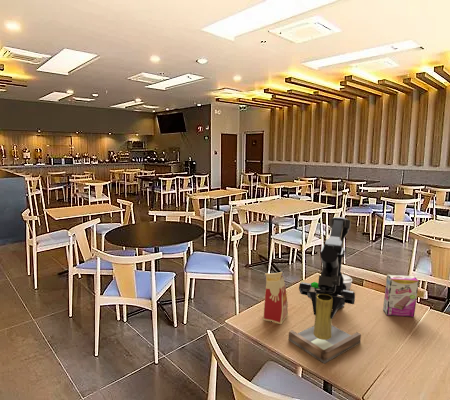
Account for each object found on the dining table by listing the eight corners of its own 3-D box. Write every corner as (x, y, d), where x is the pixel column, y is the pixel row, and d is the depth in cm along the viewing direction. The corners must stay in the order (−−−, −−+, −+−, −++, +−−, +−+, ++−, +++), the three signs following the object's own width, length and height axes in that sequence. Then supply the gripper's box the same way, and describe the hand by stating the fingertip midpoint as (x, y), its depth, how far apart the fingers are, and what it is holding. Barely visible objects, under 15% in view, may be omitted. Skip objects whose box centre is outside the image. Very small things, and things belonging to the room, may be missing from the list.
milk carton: (287, 314, 140) (289, 269, 137) (282, 324, 132) (283, 277, 128) (267, 309, 144) (268, 265, 140) (260, 319, 136) (261, 273, 132)
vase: (334, 334, 117) (337, 297, 114) (326, 342, 112) (328, 303, 110) (318, 327, 121) (321, 291, 118) (309, 334, 117) (311, 297, 114)
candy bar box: (387, 316, 139) (390, 279, 136) (382, 310, 144) (386, 274, 141) (415, 317, 138) (419, 280, 135) (409, 311, 143) (413, 275, 140)
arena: (288, 340, 122) (288, 331, 121) (324, 323, 133) (324, 315, 133) (324, 363, 109) (324, 354, 108) (360, 342, 120) (361, 334, 120)
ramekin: (346, 295, 158) (346, 284, 157) (324, 288, 165) (324, 278, 164) (355, 287, 166) (356, 277, 165) (333, 281, 173) (334, 271, 172)
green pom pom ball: (307, 292, 160) (308, 283, 159) (310, 288, 164) (311, 279, 163) (318, 295, 158) (318, 285, 157) (321, 291, 162) (321, 281, 161)
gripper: (301, 261, 119) (292, 303, 112) (356, 269, 112) (351, 315, 104) (304, 273, 128) (296, 313, 120) (356, 282, 120) (352, 325, 112)
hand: (322, 316), depth 114 cm, fingers closed on vase, 5 cm apart
